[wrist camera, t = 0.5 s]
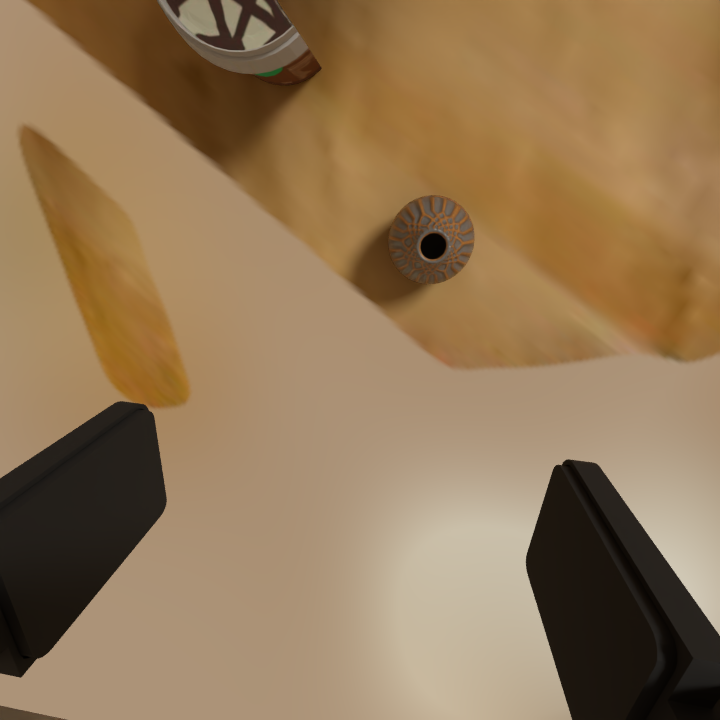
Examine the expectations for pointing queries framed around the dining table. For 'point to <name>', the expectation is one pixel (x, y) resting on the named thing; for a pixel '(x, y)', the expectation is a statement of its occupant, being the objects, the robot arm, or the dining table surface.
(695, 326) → the dining table surface
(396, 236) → the vase
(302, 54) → the food container
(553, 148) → the dining table surface
